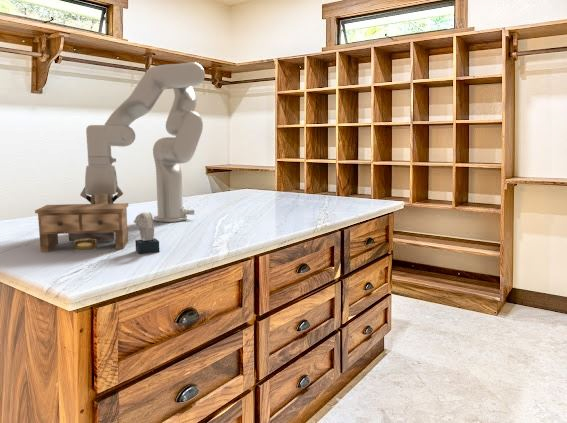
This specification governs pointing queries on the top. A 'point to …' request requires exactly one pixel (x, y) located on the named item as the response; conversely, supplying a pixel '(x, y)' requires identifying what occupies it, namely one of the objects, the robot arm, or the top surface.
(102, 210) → the cabinet
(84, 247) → the brass token
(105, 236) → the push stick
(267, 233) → the top surface
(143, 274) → the top surface
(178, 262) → the top surface
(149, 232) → the watch
